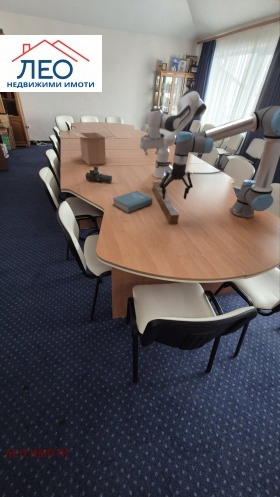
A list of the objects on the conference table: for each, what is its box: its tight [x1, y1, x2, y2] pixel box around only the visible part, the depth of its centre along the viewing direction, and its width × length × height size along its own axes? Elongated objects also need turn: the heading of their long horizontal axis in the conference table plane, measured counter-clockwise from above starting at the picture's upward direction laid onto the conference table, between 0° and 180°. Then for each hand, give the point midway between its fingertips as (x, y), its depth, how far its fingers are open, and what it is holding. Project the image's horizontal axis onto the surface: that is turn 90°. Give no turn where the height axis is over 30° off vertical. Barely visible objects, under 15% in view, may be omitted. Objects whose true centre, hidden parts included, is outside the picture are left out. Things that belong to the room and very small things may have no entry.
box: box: [70, 129, 114, 166], centre depth 229 cm, size 44×36×27 cm
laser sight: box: [85, 166, 113, 184], centre depth 187 cm, size 10×22×10 cm, turn 78°
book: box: [112, 190, 153, 214], centre depth 155 cm, size 23×16×5 cm
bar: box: [151, 181, 180, 225], centre depth 159 cm, size 56×5×6 cm, turn 9°
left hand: (151, 154), depth 168 cm, fingers open, 8 cm apart
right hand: (174, 198), depth 136 cm, fingers open, 13 cm apart
